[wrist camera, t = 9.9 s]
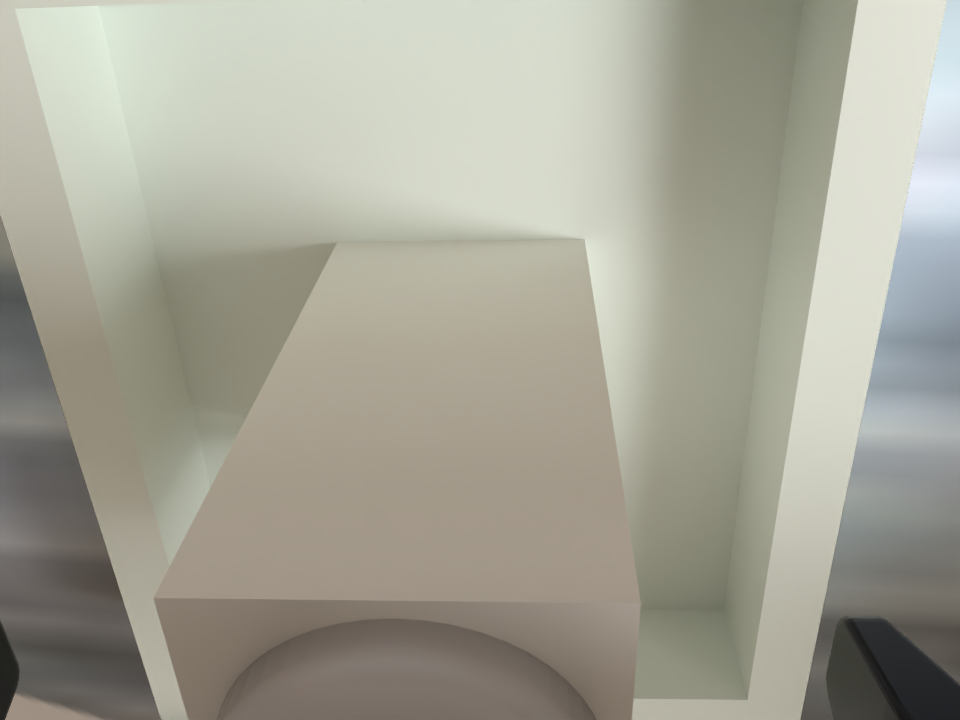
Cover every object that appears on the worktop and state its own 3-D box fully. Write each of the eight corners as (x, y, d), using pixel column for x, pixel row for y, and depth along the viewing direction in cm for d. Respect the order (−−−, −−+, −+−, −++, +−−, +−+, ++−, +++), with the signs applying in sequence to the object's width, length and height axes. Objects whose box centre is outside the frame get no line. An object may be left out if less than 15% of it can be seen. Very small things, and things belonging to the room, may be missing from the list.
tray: (876, -127, 12) (972, -126, 9) (758, 617, 19) (796, 737, 16) (33, -90, 13) (-94, -80, 10) (212, 613, 20) (163, 728, 17)
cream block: (584, 239, 14) (656, 706, 6) (578, 445, 16) (628, 1003, 8) (337, 242, 14) (102, 696, 6) (361, 445, 16) (202, 986, 8)
